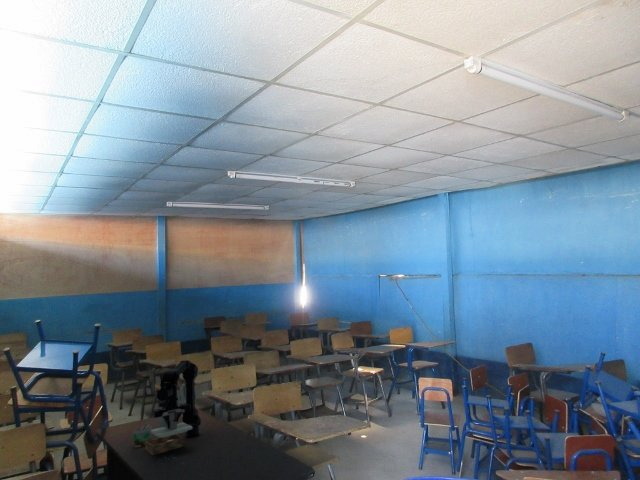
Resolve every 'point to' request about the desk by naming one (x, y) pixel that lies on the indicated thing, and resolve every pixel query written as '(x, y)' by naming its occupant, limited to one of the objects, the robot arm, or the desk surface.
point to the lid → (171, 429)
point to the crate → (163, 444)
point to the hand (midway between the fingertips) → (171, 427)
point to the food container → (142, 435)
